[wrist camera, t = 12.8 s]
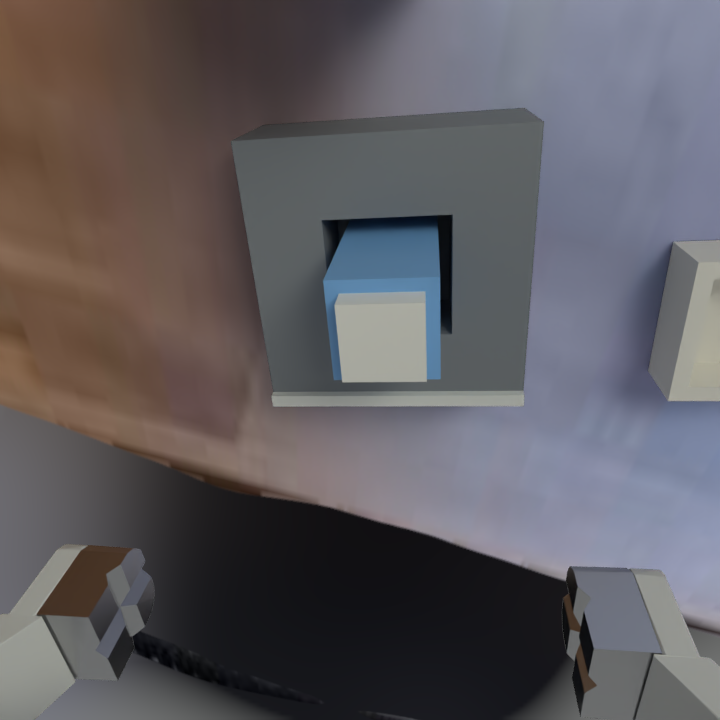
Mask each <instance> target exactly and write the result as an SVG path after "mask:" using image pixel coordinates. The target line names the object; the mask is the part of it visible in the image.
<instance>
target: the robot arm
mask: <svg viewBox="0 0 720 720" xmlns="http://www.w3.org/2000/svg"><path fill="white" fill-rule="evenodd" d="M144 563H145V559H144V557H143V555H142V552H141V550H140V549H134V548H120V547H106V546H93V545H74V544H65V545H64V546H62V547H60V548H59V549H57V550H56V552H55V553H54V555H53V556H52V557H51V558H50V560H49V561H48V562H47V564H46V565H45V566H44V568H43V569H42V570H41V572H40V573H39V574H38V576H37V577H36V579H35V580H34V581H33V582H32V584H31V585H30V586H29V588H28V589H27V591H26V592H25V593H24V595H23V596H22V597H21V598H20V600H19V601H18V602H17V604H16V605H15V606H14V608H13V609H12V610H11V612H10V613H9V614H1V615H0V720H35V719H36V718H37V717H38V716H39V715H40V714H41V713H42V712H43V711H45V710H46V709H47V708H48V707H49V706H50V705H51V704H52V703H53V702H54V701H55V700H56V699H57V698H59V697H60V696H61V695H62V694H63V693H64V692H65V691H66V690H67V689H68V688H69V687H70V686H71V685H73V684H74V683H75V679H89V680H110V681H118V680H119V677H120V675H121V674H122V671H123V669H124V668H125V666H126V663H127V662H128V660H129V658H130V656H131V654H132V652H133V650H134V643H133V638H132V636H134V635H135V634H136V633H137V632H139V631H140V630H141V629H142V628H144V627H145V625H146V623H147V621H148V619H149V617H150V615H151V613H152V608H153V603H154V599H155V592H154V584H153V581H152V578H151V577H150V576H149V575H148V574H147V573H146V572H144V571H143V570H142V569H141V568H142V566H143V565H144ZM566 583H567V587H568V592H569V594H568V595H566V596H565V597H564V598H563V606H562V628H563V636H564V641H565V647H566V652H567V654H568V655H569V656H570V657H571V658H572V659H573V660H574V661H575V662H574V668H573V674H572V681H573V685H574V689H575V695H576V699H577V704H578V708H579V713H580V717H587V718H596V719H606V720H720V666H719V665H717V664H716V663H715V662H714V661H713V660H712V659H711V658H705V657H700V655H699V653H698V651H697V648H696V646H695V644H694V642H693V639H692V637H691V634H690V632H689V630H688V627H687V625H686V623H685V620H684V618H683V616H682V613H681V611H680V609H679V606H678V604H677V602H676V599H675V597H674V595H673V592H672V590H671V588H670V586H669V583H668V581H667V579H666V576H665V574H664V573H663V572H662V571H661V570H653V569H627V568H610V567H577V566H570V567H569V569H568V571H567V577H566Z"/></svg>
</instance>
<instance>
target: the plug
mask: <svg viewBox="0 0 720 720" xmlns="http://www.w3.org/2000/svg"><path fill="white" fill-rule="evenodd" d="M323 285H324V294H325V303H326V313H327V322H328V331H329V340H330V349H331V359H332V368H333V377H334V380H342V382H427V379H441V345H440V262H439V241H438V219H437V215H432V216H409V217H386V218H363V219H350V221H349V223H348V226H347V228H346V230H345V232H344V235H343V237H342V239H341V241H340V243H339V246H338V248H337V250H336V252H335V255H334V257H333V259H332V261H331V264H330V266H329V268H328V270H327V273H326V275H325V277H324V279H323Z"/></svg>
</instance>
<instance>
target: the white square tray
mask: <svg viewBox="0 0 720 720" xmlns="http://www.w3.org/2000/svg"><path fill="white" fill-rule="evenodd" d="M648 372H649V373H650V375H651V376H652V378H653V379H654V381H655V382H656V384H657V385H658V387H659V388H660V390H661V391H662V393H663V394H664V396H665V397H666V399H667V400H668V401H720V240H708V241H680V242H673V246H672V251H671V256H670V261H669V266H668V271H667V276H666V281H665V286H664V292H663V297H662V302H661V307H660V312H659V317H658V322H657V327H656V332H655V338H654V343H653V348H652V353H651V358H650V363H649V368H648Z"/></svg>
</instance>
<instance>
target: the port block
mask: <svg viewBox="0 0 720 720" xmlns="http://www.w3.org/2000/svg"><path fill="white" fill-rule="evenodd" d="M543 127H544V121H542V120H541V119H539V118H538V117H537V116H535V115H534V114H532V113H531V112H529V111H528V110H527V109H525V108H517V109H501V110H486V111H471V112H456V113H440V114H425V115H410V116H395V117H379V118H364V119H349V120H334V121H318V122H303V123H288V124H273V125H262V126H260V127H258V128H256V129H254V130H252V131H250V132H248V133H246V134H244V135H242V136H240V137H238V138H236V139H234V140H232V141H231V145H232V151H233V157H234V163H235V169H236V175H237V180H238V186H239V192H240V198H241V204H242V210H243V216H244V222H245V228H246V234H247V239H248V245H249V251H250V257H251V263H252V269H253V275H254V281H255V287H256V292H257V298H258V304H259V310H260V316H261V322H262V328H263V334H264V340H265V346H266V351H267V357H268V363H269V369H270V375H271V381H272V387H273V394H272V396H271V397H272V403H273V407H331V406H524V392H523V387H524V374H525V361H526V348H527V335H528V322H529V309H530V296H531V283H532V270H533V257H534V244H535V231H536V218H537V205H538V192H539V179H540V166H541V153H542V140H543ZM432 215H437V219H438V241H439V262H440V345H441V379H427V382H342V380H334V377H333V368H332V359H331V349H330V340H329V331H328V322H327V313H326V303H325V294H324V285H323V279H324V277H325V275H326V273H327V270H328V268H329V266H330V264H331V261H332V259H333V257H334V255H335V252H336V250H337V248H338V246H339V243H340V241H341V239H342V237H343V235H344V232H345V230H346V228H347V226H348V223H349V221H350V219H363V218H386V217H409V216H432Z"/></svg>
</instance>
